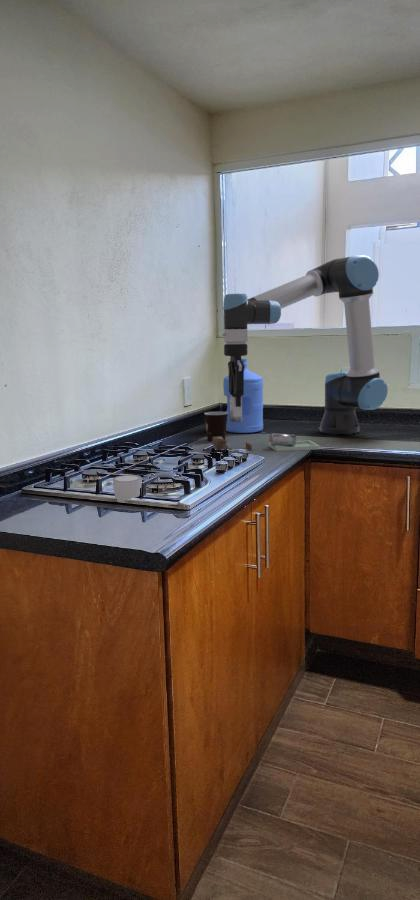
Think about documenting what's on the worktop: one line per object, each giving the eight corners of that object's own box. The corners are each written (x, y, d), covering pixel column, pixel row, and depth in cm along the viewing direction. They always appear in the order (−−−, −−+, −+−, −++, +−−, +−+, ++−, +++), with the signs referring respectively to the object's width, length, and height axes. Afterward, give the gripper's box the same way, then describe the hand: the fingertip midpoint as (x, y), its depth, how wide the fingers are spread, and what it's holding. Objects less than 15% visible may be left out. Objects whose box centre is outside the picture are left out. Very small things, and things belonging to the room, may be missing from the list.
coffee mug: (225, 442, 215) (225, 415, 213) (202, 442, 216) (201, 414, 214) (231, 436, 226) (231, 410, 224) (208, 436, 227) (208, 410, 225)
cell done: (293, 433, 204) (268, 432, 203) (296, 435, 200) (271, 433, 199) (291, 445, 205) (267, 443, 203) (295, 447, 201) (270, 445, 199)
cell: (240, 419, 200) (240, 394, 199) (243, 421, 197) (243, 395, 195) (228, 420, 200) (228, 394, 198) (231, 422, 196) (231, 396, 194)
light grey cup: (129, 500, 146) (127, 473, 145) (149, 505, 142) (147, 477, 141) (107, 507, 141) (106, 479, 140) (127, 513, 137) (126, 483, 136)
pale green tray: (309, 444, 209) (309, 440, 209) (319, 449, 200) (319, 445, 199) (268, 446, 206) (268, 442, 206) (276, 452, 197) (276, 448, 197)
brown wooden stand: (246, 447, 205) (246, 433, 204) (253, 453, 197) (253, 438, 196) (212, 449, 203) (212, 435, 202) (217, 455, 195) (217, 440, 194)
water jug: (245, 425, 251) (244, 357, 245) (271, 430, 238) (271, 358, 233) (216, 429, 241) (214, 359, 236) (241, 435, 229) (240, 361, 223)
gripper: (219, 342, 200) (220, 412, 205) (229, 344, 184) (230, 419, 189) (241, 342, 202) (241, 411, 206) (253, 343, 186) (253, 418, 190)
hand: (236, 415), depth 198 cm, fingers closed on cell, 3 cm apart
